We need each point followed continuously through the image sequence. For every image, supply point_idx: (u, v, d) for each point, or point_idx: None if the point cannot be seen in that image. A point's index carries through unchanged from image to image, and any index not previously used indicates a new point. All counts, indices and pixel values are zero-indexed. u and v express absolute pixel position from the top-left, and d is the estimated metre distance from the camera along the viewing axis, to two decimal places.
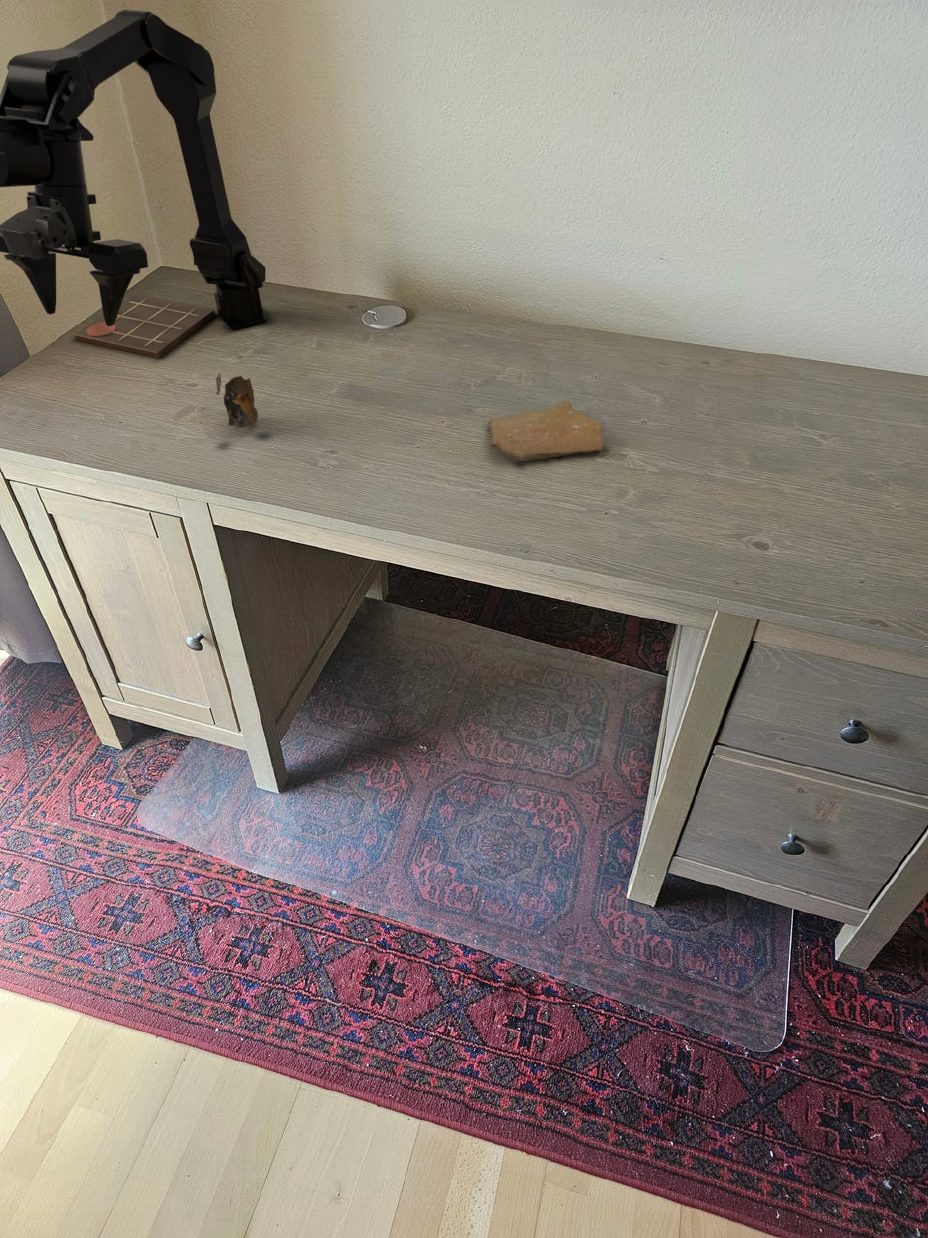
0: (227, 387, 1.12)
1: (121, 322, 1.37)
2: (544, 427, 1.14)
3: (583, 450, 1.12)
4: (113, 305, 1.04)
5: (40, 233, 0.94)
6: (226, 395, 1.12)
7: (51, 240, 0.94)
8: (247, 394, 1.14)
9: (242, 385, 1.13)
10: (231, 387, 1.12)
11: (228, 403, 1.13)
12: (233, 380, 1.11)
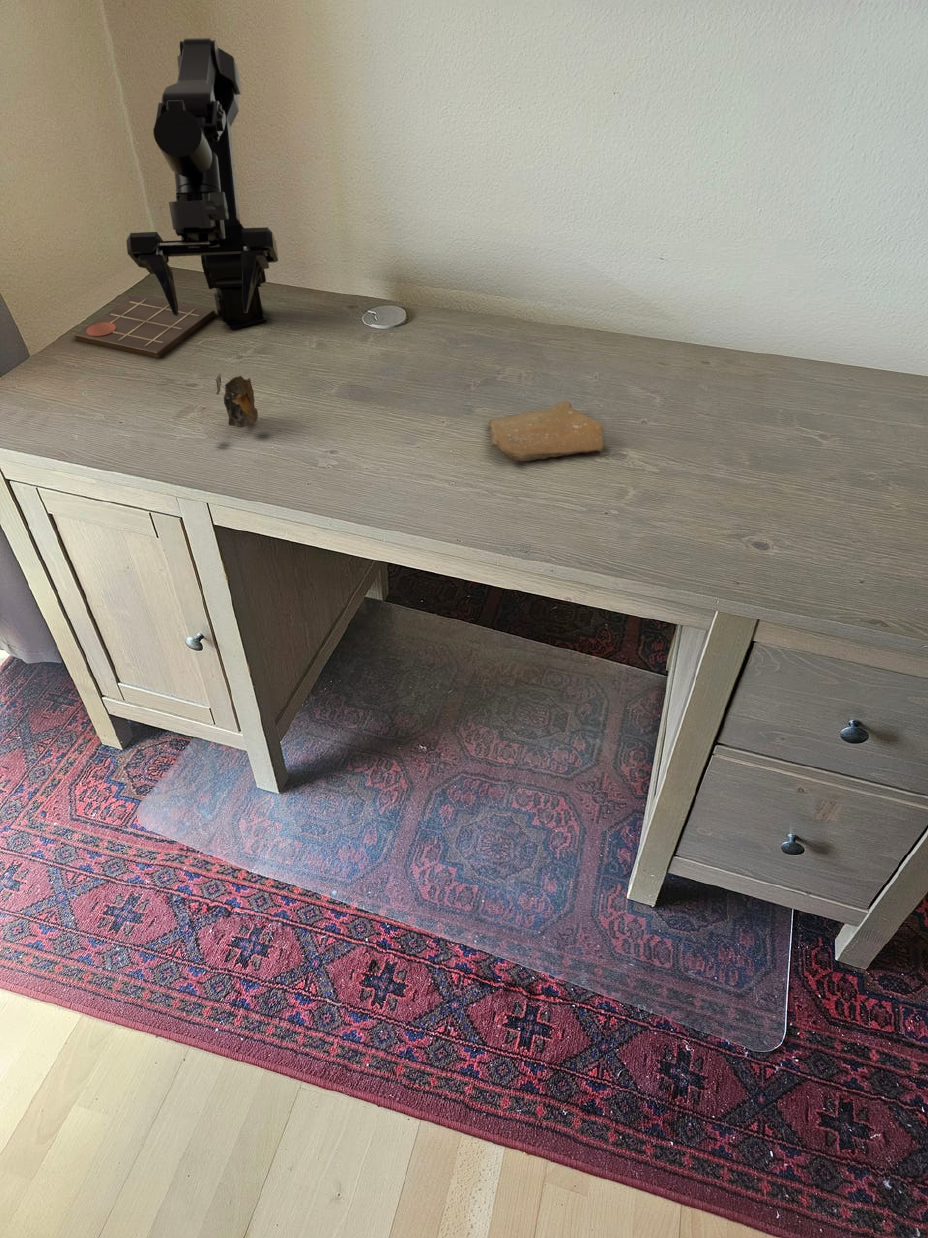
0: (227, 387, 1.12)
1: (121, 322, 1.37)
2: (544, 427, 1.14)
3: (583, 450, 1.12)
4: (250, 291, 1.12)
5: (213, 203, 1.04)
6: (226, 395, 1.12)
7: (224, 208, 1.04)
8: (247, 394, 1.14)
9: (242, 385, 1.13)
10: (231, 387, 1.12)
11: (228, 403, 1.13)
12: (233, 380, 1.11)
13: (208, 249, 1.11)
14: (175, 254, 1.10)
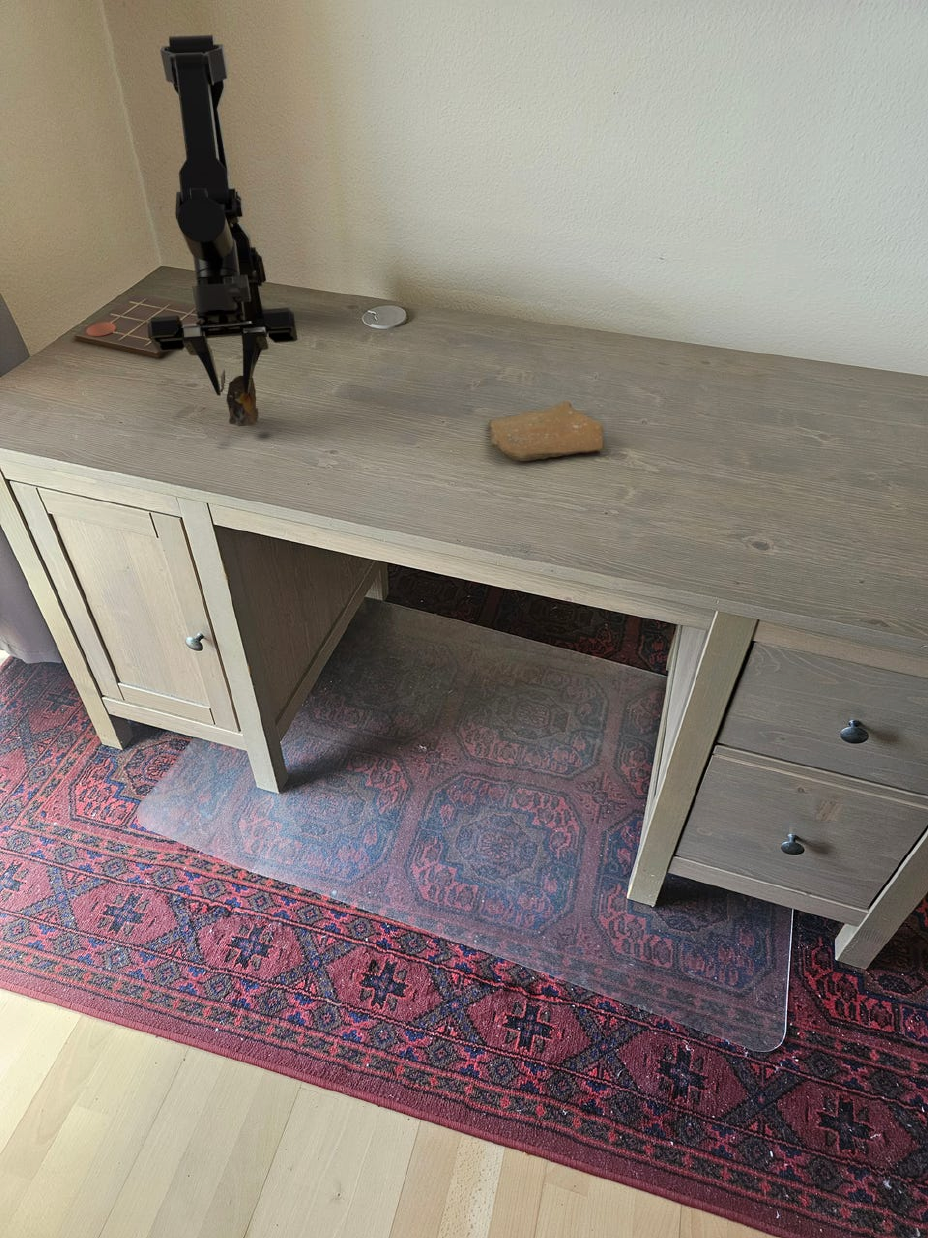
0: (231, 385, 1.11)
1: (121, 322, 1.37)
2: (544, 427, 1.14)
3: (583, 450, 1.12)
4: (251, 372, 1.11)
5: (237, 285, 1.04)
6: (229, 393, 1.12)
7: (247, 290, 1.04)
8: (250, 393, 1.14)
9: None
10: (235, 385, 1.11)
11: (231, 401, 1.12)
12: (237, 379, 1.11)
13: (207, 332, 1.10)
14: None
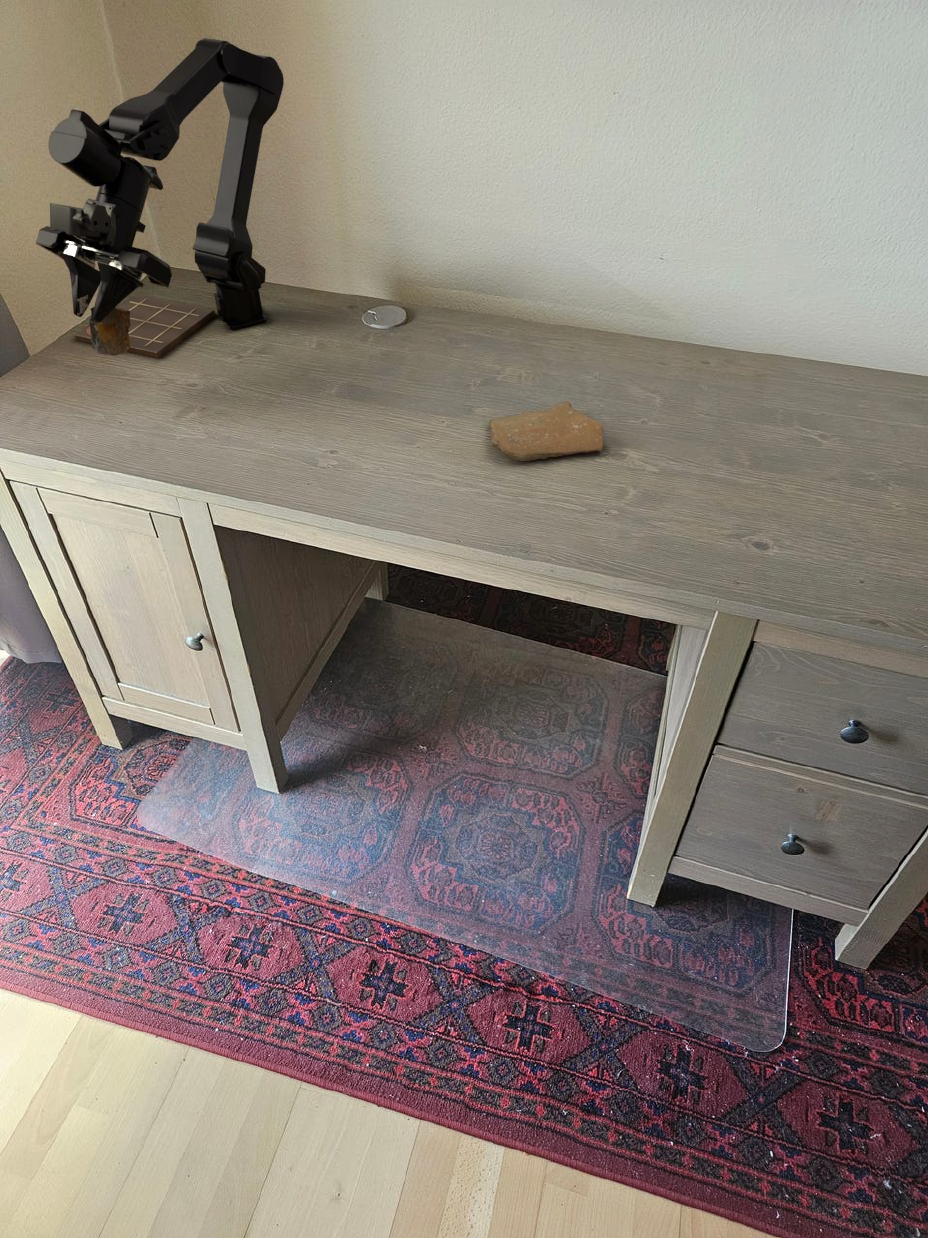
0: (91, 311, 1.13)
1: None
2: (544, 427, 1.14)
3: (583, 450, 1.12)
4: (106, 303, 1.11)
5: (85, 213, 1.03)
6: (91, 318, 1.14)
7: (92, 220, 1.03)
8: (115, 324, 1.15)
9: (108, 314, 1.13)
10: None
11: (92, 327, 1.14)
12: None
13: (88, 254, 1.12)
14: None
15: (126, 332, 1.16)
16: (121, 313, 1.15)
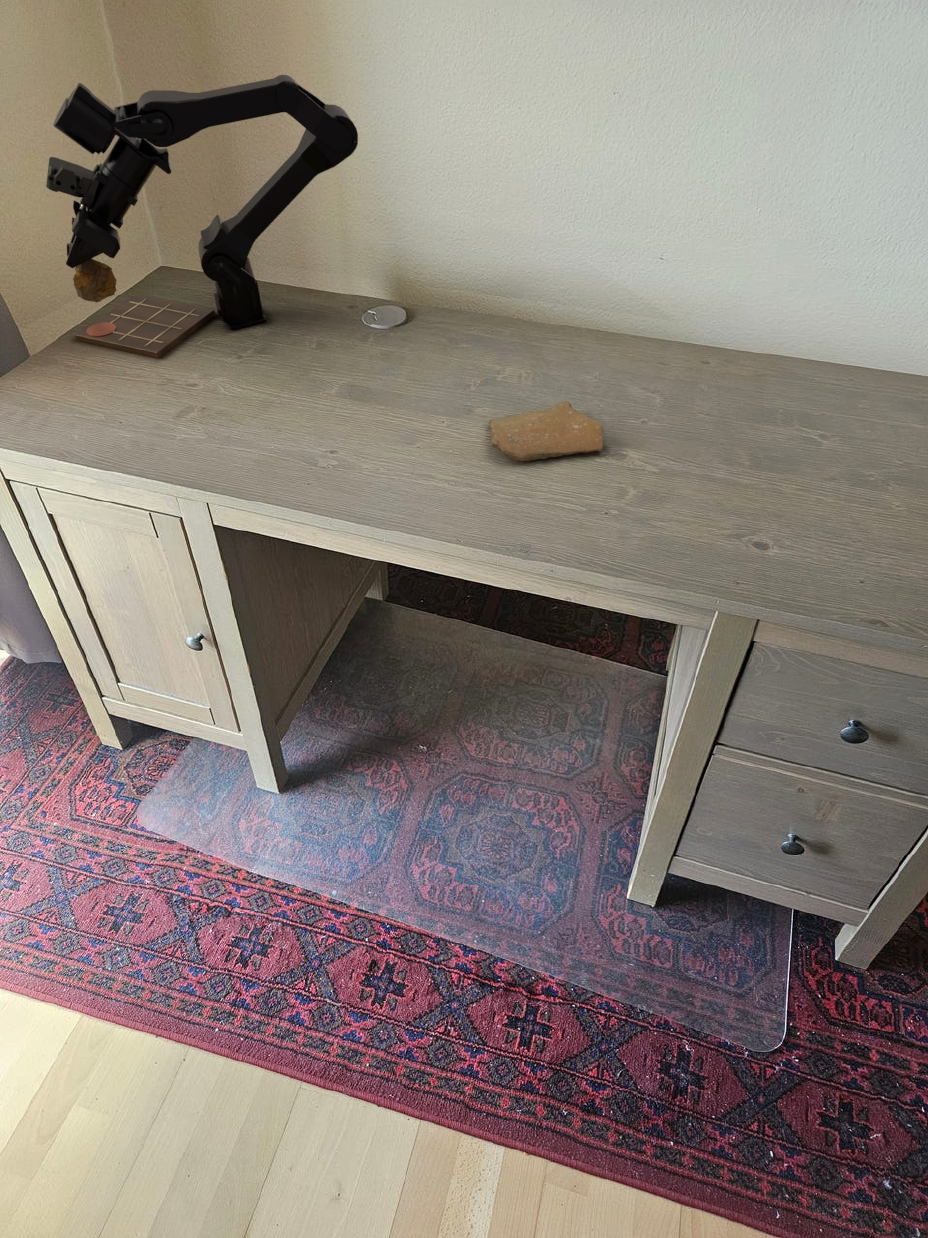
0: None
1: (121, 322, 1.37)
2: (544, 427, 1.14)
3: (583, 450, 1.12)
4: (77, 254, 1.24)
5: (56, 172, 1.16)
6: None
7: (55, 180, 1.15)
8: (91, 275, 1.27)
9: (84, 264, 1.26)
10: None
11: None
12: None
13: None
14: None
15: (101, 285, 1.28)
16: (99, 267, 1.27)
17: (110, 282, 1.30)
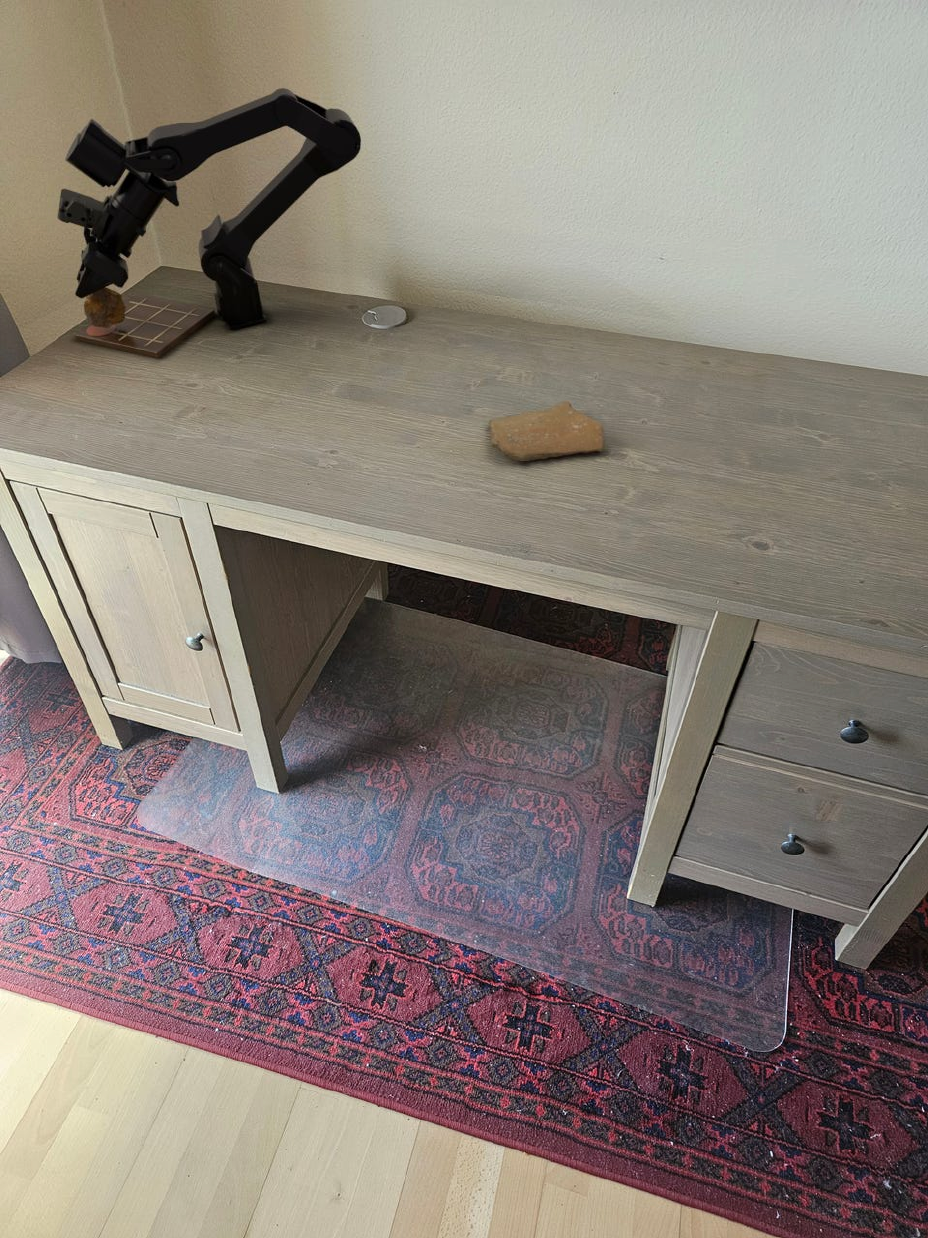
0: None
1: (121, 322, 1.37)
2: (544, 427, 1.14)
3: (583, 450, 1.12)
4: (86, 285, 1.27)
5: (67, 205, 1.19)
6: None
7: (66, 212, 1.19)
8: (101, 301, 1.31)
9: None
10: None
11: None
12: None
13: None
14: None
15: (111, 311, 1.32)
16: (109, 294, 1.31)
17: (119, 309, 1.33)
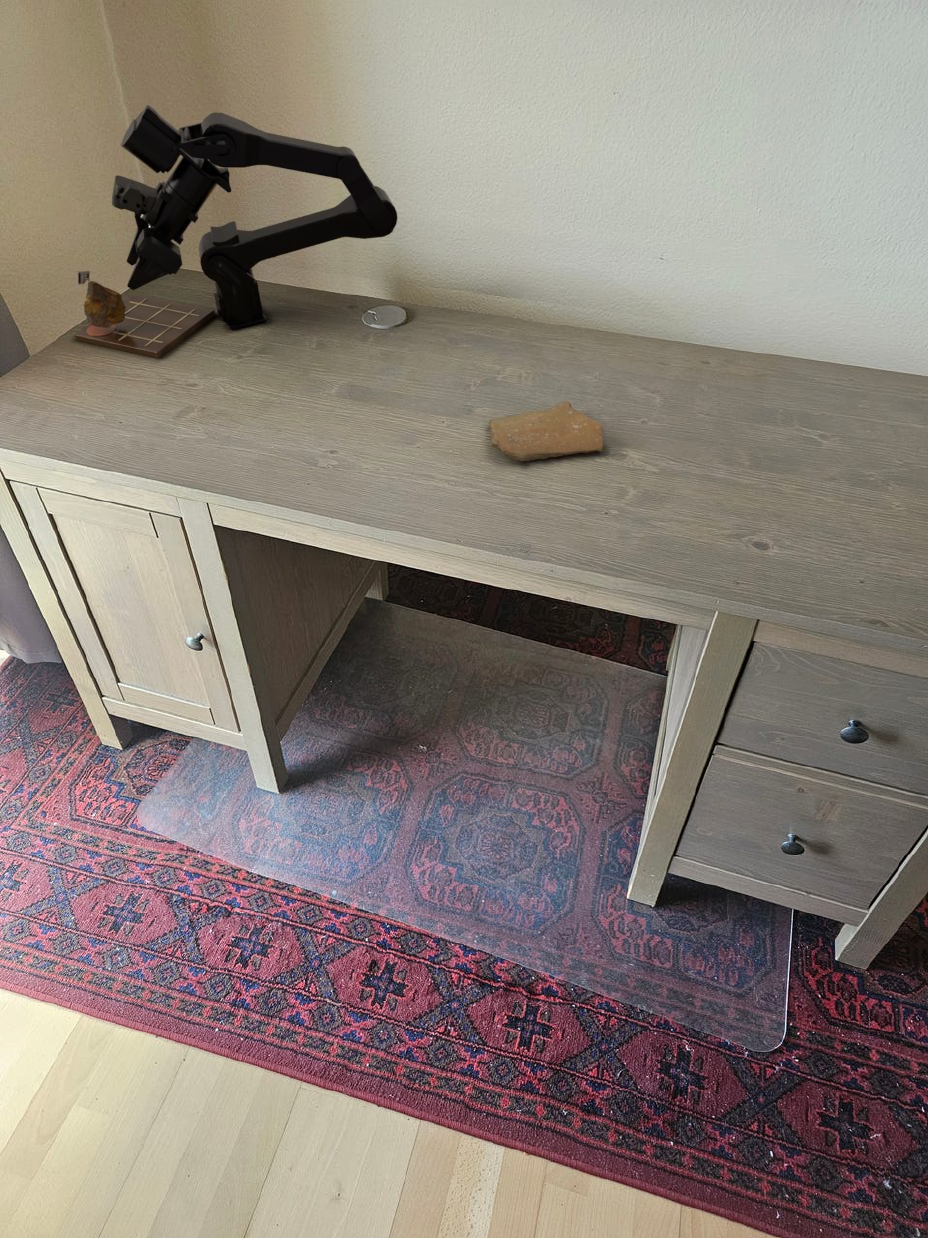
0: (88, 285, 1.31)
1: (121, 322, 1.37)
2: (544, 427, 1.14)
3: (583, 450, 1.12)
4: (138, 276, 1.26)
5: (122, 191, 1.20)
6: None
7: (121, 198, 1.20)
8: (101, 301, 1.31)
9: (95, 291, 1.30)
10: (88, 286, 1.30)
11: None
12: (90, 282, 1.30)
13: None
14: None
15: (111, 311, 1.32)
16: (109, 294, 1.31)
17: (119, 309, 1.33)
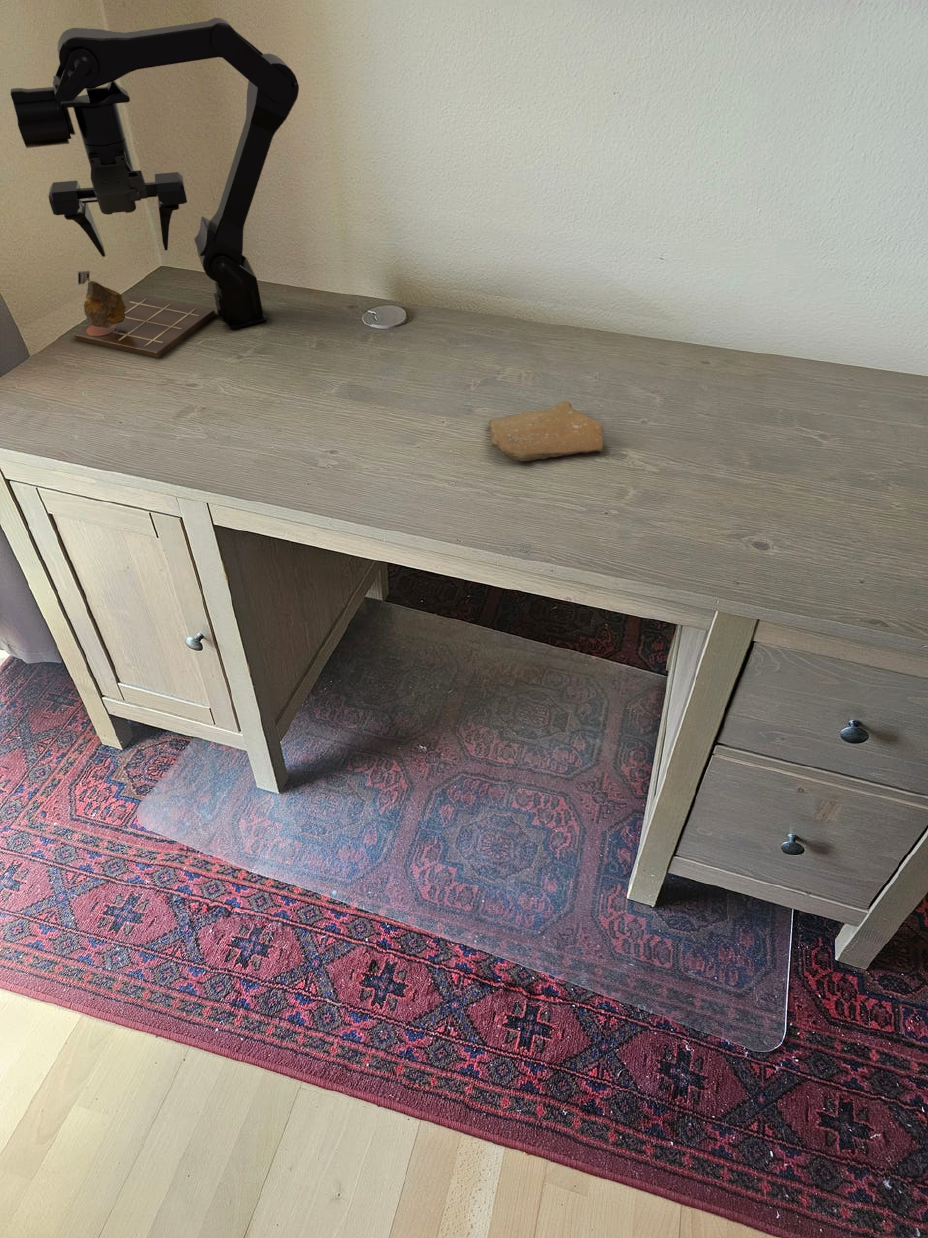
0: (88, 285, 1.31)
1: (121, 322, 1.37)
2: (544, 427, 1.14)
3: (583, 450, 1.12)
4: None
5: (135, 189, 1.15)
6: None
7: (145, 192, 1.16)
8: (101, 301, 1.31)
9: (95, 291, 1.30)
10: (88, 286, 1.30)
11: None
12: (90, 282, 1.30)
13: None
14: (93, 201, 1.21)
15: (111, 311, 1.32)
16: (109, 294, 1.31)
17: (119, 309, 1.33)
